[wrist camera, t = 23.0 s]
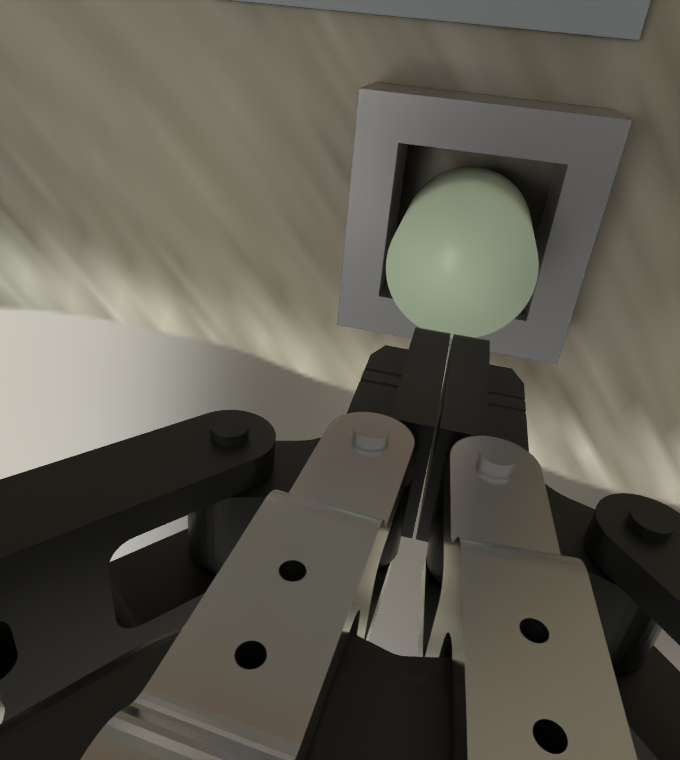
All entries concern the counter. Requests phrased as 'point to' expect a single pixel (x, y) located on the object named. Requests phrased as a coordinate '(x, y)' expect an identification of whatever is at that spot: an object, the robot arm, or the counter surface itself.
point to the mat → (505, 13)
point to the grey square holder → (487, 136)
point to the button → (464, 254)
